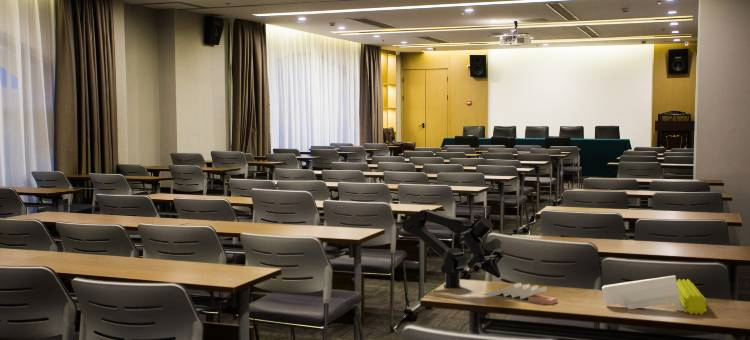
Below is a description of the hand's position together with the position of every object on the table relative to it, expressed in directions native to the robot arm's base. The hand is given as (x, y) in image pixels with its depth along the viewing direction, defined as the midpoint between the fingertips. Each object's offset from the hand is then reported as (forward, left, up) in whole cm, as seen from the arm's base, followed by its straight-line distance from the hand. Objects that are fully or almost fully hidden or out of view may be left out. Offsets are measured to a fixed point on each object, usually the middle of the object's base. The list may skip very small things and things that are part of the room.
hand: (499, 277), depth 289 cm
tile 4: (+7, +8, -6) cm, 12 cm away
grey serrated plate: (+5, +5, -7) cm, 10 cm away
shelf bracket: (+21, +47, -7) cm, 52 cm away
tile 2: (+2, +3, -6) cm, 7 cm away
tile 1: (0, 0, -6) cm, 6 cm away
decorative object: (+15, +66, -8) cm, 68 cm away
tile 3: (+5, +5, -6) cm, 9 cm away
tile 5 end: (+10, +10, -6) cm, 15 cm away
